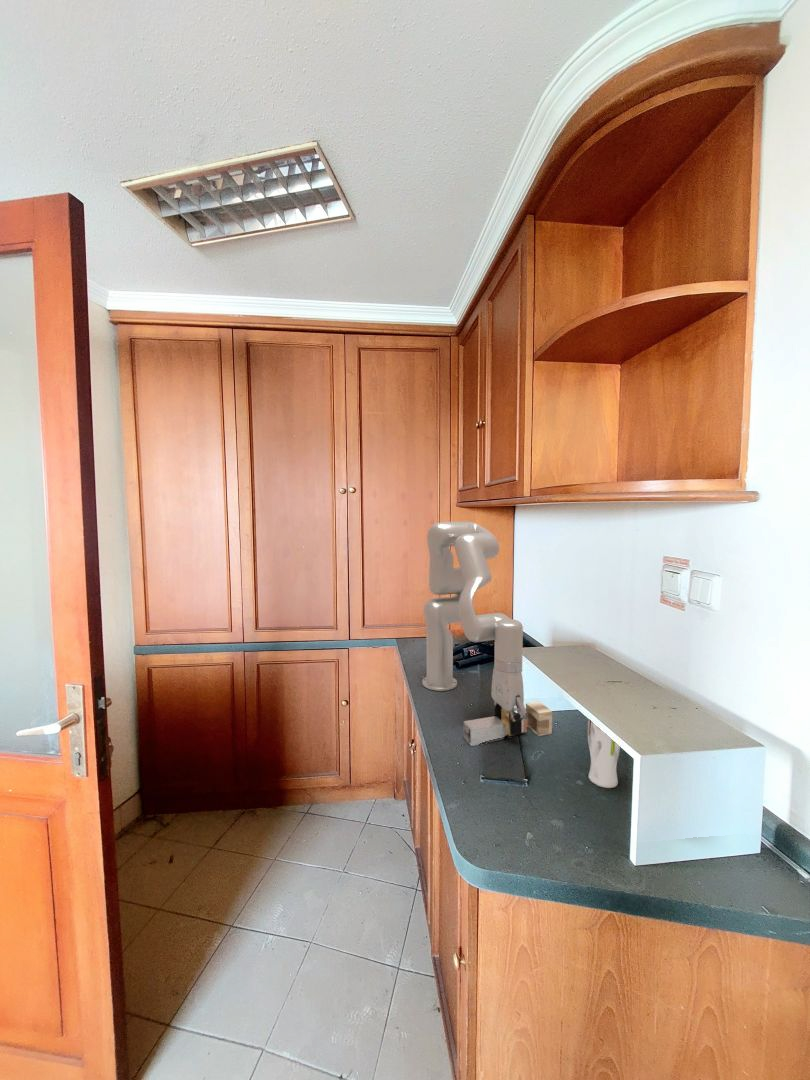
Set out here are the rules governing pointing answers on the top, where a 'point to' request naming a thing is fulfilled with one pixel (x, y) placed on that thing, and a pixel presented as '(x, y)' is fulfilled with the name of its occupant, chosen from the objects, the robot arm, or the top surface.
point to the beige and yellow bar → (506, 720)
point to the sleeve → (483, 730)
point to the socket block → (539, 718)
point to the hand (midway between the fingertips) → (507, 726)
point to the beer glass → (602, 757)
